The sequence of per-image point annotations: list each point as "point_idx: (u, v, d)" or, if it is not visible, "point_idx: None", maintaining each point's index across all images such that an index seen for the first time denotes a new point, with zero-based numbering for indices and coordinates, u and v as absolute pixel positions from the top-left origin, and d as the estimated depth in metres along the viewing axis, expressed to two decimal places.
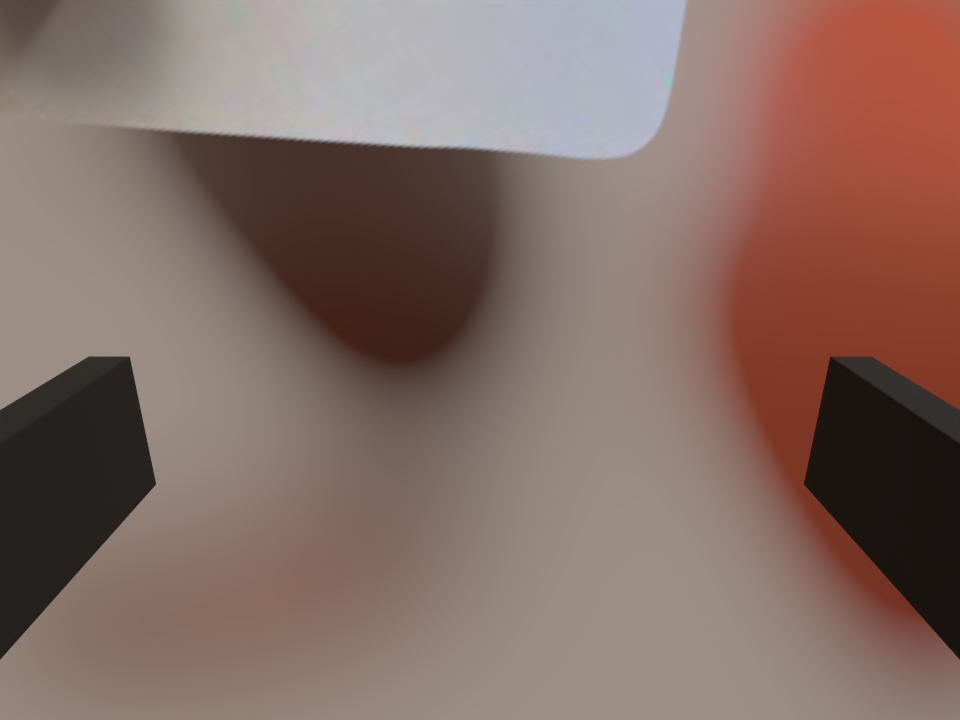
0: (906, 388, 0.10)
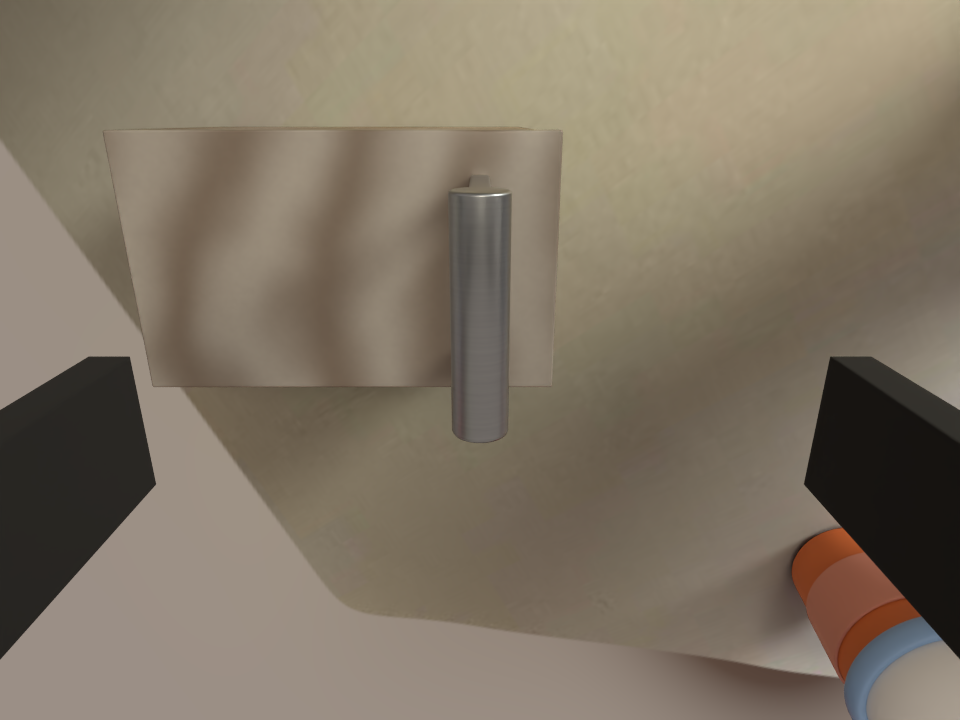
0: (906, 388, 0.10)
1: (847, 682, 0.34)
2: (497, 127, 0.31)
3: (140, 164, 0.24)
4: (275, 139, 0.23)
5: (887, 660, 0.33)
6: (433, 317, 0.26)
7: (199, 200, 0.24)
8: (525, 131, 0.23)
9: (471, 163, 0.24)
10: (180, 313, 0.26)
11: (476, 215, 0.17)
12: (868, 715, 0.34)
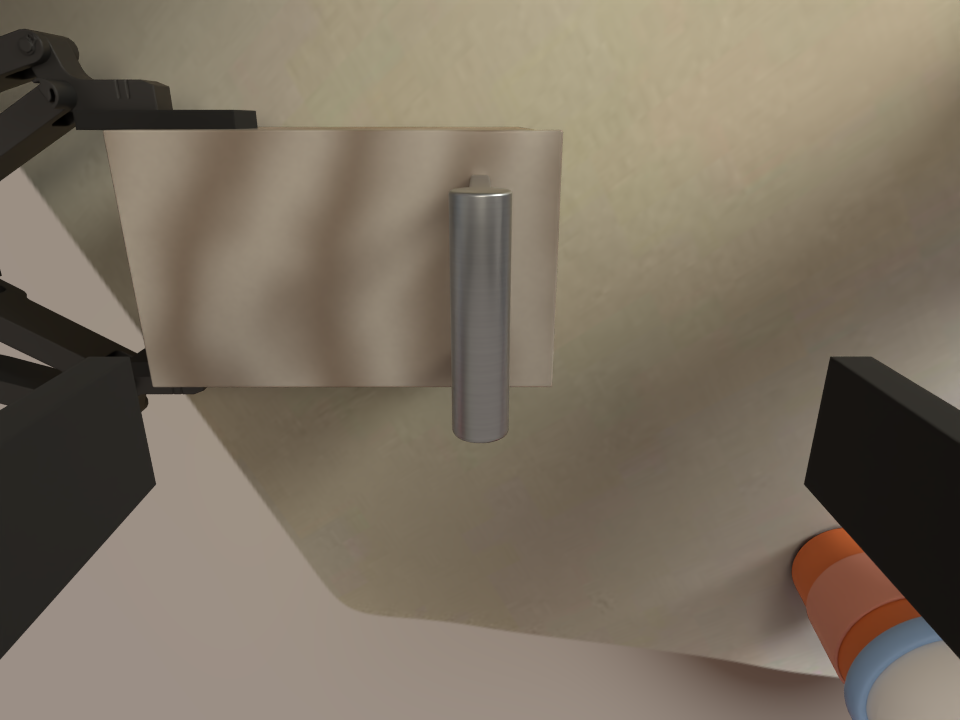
0: (906, 388, 0.10)
1: (847, 682, 0.34)
2: (497, 127, 0.31)
3: (141, 164, 0.24)
4: (275, 139, 0.23)
5: (887, 660, 0.33)
6: (433, 317, 0.26)
7: (199, 200, 0.24)
8: (525, 131, 0.23)
9: (471, 163, 0.24)
10: (180, 313, 0.26)
11: (476, 215, 0.17)
12: (868, 715, 0.34)
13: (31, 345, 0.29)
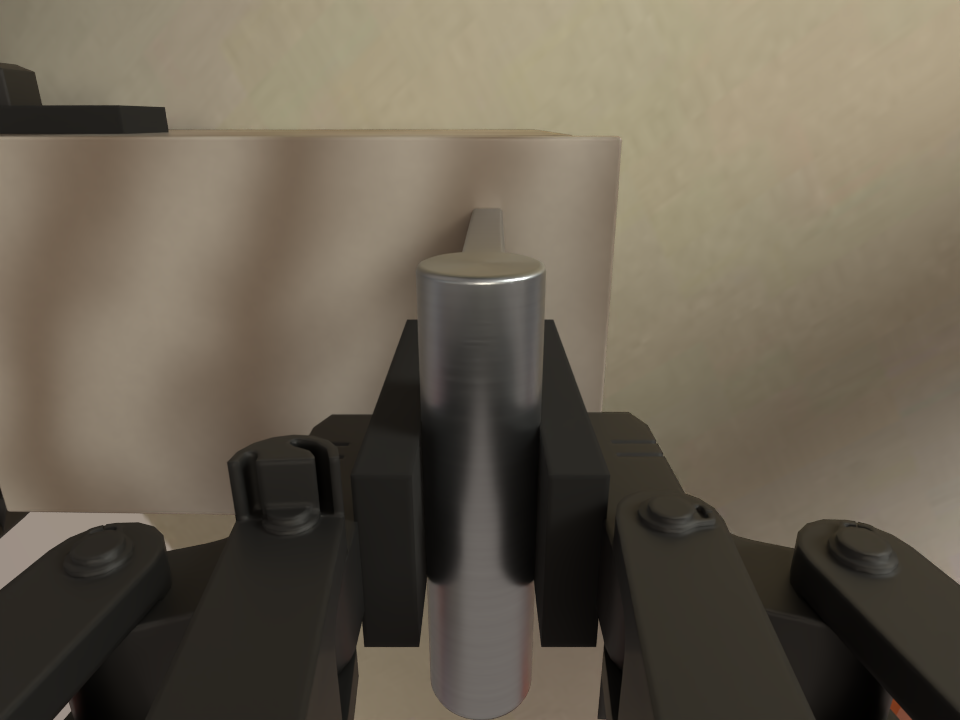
0: (547, 341, 0.12)
1: None
2: (507, 130, 0.23)
3: None
4: (162, 151, 0.15)
5: None
6: None
7: (52, 245, 0.15)
8: (561, 139, 0.14)
9: (474, 189, 0.15)
10: (37, 410, 0.17)
11: (471, 322, 0.08)
12: None
13: None
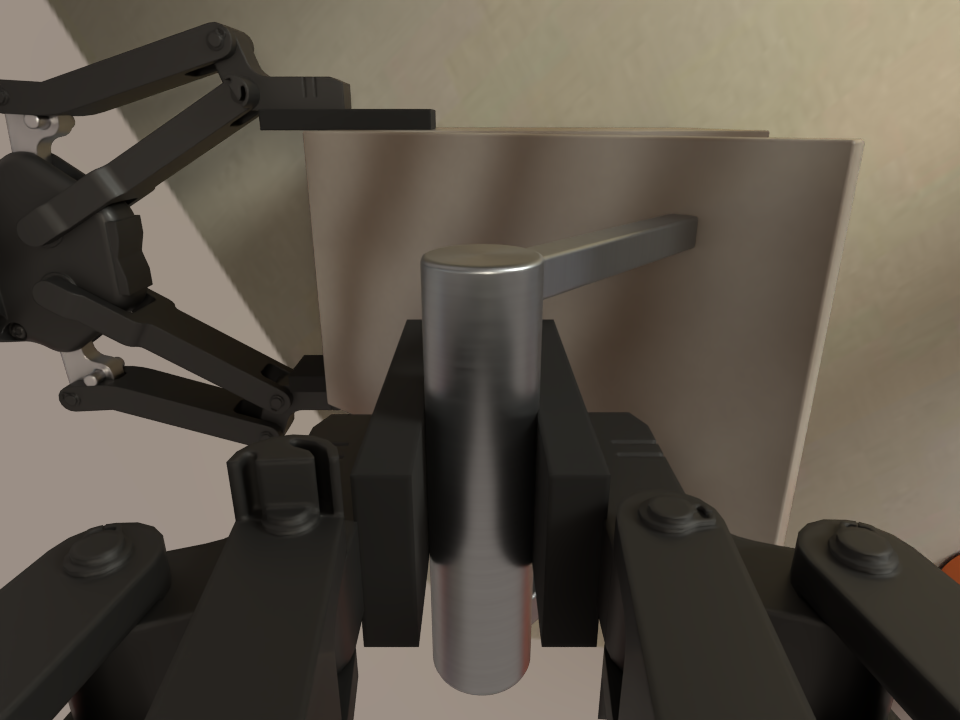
0: (547, 341, 0.12)
1: None
2: (673, 128, 0.29)
3: (326, 169, 0.21)
4: (435, 144, 0.18)
5: None
6: None
7: (367, 214, 0.21)
8: (776, 141, 0.12)
9: (672, 193, 0.14)
10: (348, 335, 0.23)
11: (435, 304, 0.09)
12: None
13: (189, 359, 0.28)
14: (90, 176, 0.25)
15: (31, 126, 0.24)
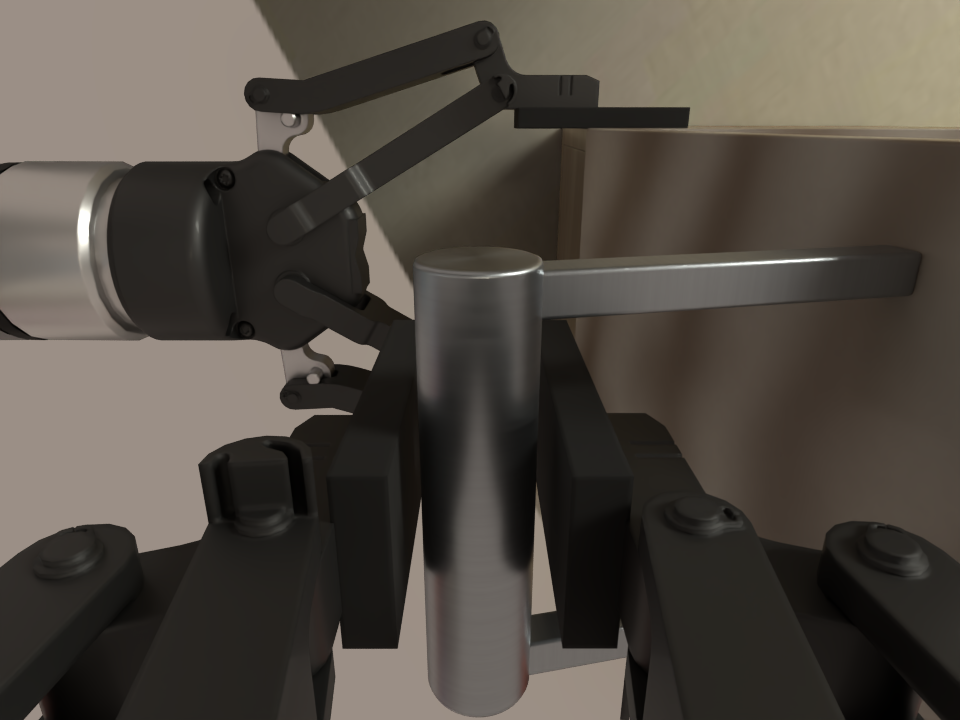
0: (561, 342, 0.12)
1: None
2: None
3: (597, 167, 0.21)
4: (675, 145, 0.16)
5: None
6: (772, 490, 0.14)
7: (618, 215, 0.20)
8: None
9: (896, 217, 0.10)
10: (592, 335, 0.23)
11: (414, 300, 0.09)
12: None
13: None
14: (345, 174, 0.25)
15: (287, 125, 0.24)
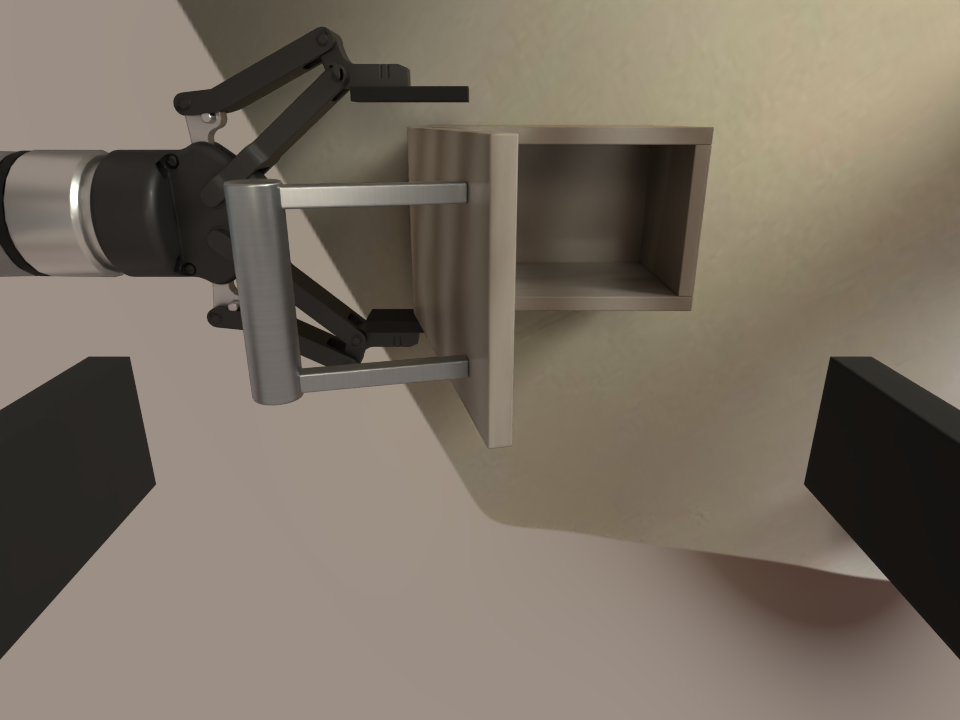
0: (906, 388, 0.10)
1: None
2: None
3: (411, 152, 0.33)
4: (427, 136, 0.28)
5: None
6: (456, 322, 0.25)
7: (417, 181, 0.31)
8: (479, 134, 0.19)
9: (463, 167, 0.22)
10: (416, 264, 0.34)
11: None
12: None
13: (302, 300, 0.40)
14: (245, 151, 0.36)
15: (206, 121, 0.36)
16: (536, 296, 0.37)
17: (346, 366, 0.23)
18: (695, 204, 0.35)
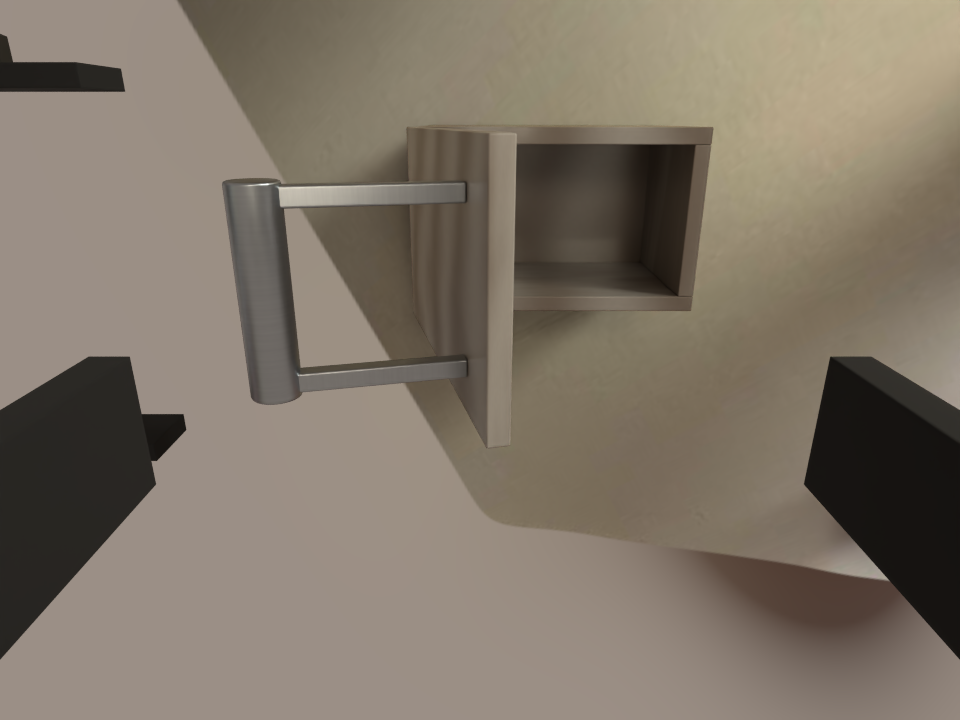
0: (906, 388, 0.10)
1: None
2: None
3: (410, 152, 0.33)
4: (426, 135, 0.28)
5: None
6: (455, 321, 0.25)
7: None
8: (477, 133, 0.19)
9: (462, 167, 0.22)
10: (416, 264, 0.34)
11: None
12: None
13: None
14: None
15: None
16: (536, 296, 0.37)
17: (345, 366, 0.23)
18: (695, 204, 0.35)
